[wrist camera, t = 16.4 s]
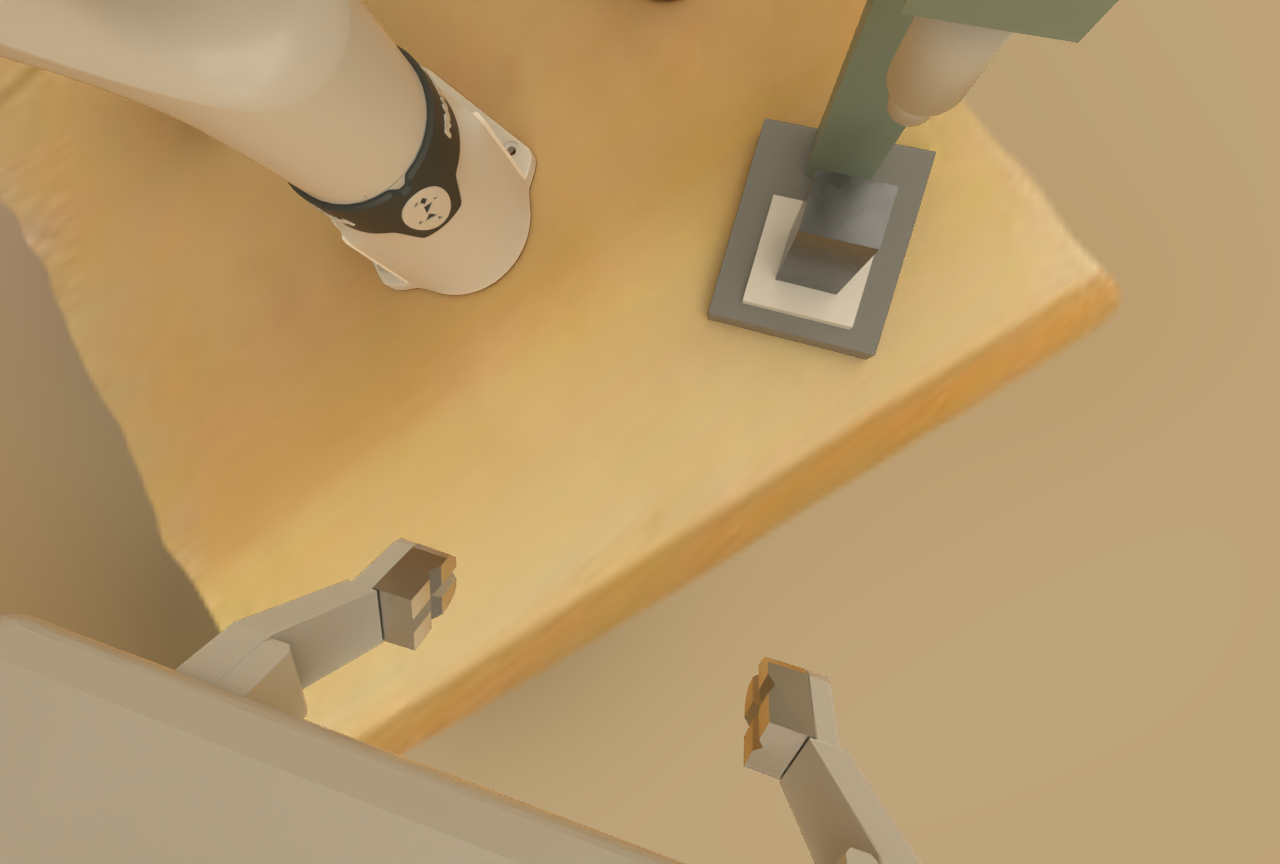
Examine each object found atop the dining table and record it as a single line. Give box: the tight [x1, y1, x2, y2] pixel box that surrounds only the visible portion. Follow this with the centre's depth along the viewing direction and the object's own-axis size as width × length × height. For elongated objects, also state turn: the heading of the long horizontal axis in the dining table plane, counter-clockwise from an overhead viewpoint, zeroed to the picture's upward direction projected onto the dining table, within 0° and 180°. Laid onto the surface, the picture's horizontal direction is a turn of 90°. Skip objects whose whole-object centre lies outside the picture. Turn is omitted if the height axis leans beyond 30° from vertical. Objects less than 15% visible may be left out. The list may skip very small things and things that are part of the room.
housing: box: [775, 169, 899, 295], centre depth 33 cm, size 5×4×9 cm
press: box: [708, 0, 1118, 359], centre depth 23 cm, size 17×22×34 cm
